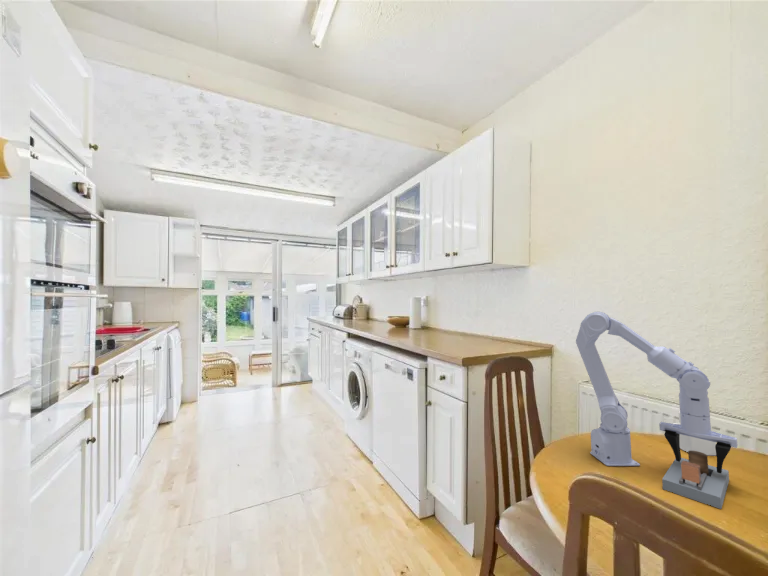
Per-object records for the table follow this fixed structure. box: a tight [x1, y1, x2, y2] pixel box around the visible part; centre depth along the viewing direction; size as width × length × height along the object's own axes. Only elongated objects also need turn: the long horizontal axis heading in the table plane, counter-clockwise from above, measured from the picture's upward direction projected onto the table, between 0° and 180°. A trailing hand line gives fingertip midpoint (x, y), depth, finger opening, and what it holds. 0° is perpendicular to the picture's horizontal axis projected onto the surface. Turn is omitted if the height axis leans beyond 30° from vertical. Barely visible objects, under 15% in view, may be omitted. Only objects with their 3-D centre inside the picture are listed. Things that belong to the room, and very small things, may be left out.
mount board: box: [661, 457, 730, 510], centre depth 80 cm, size 18×10×3 cm, turn 128°
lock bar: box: [681, 461, 701, 487], centre depth 78 cm, size 7×3×4 cm, turn 128°
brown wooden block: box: [687, 451, 709, 476], centre depth 83 cm, size 4×4×6 cm
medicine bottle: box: [671, 410, 717, 457], centre depth 99 cm, size 7×7×12 cm
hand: (698, 465), depth 83 cm, fingers open, 7 cm apart
